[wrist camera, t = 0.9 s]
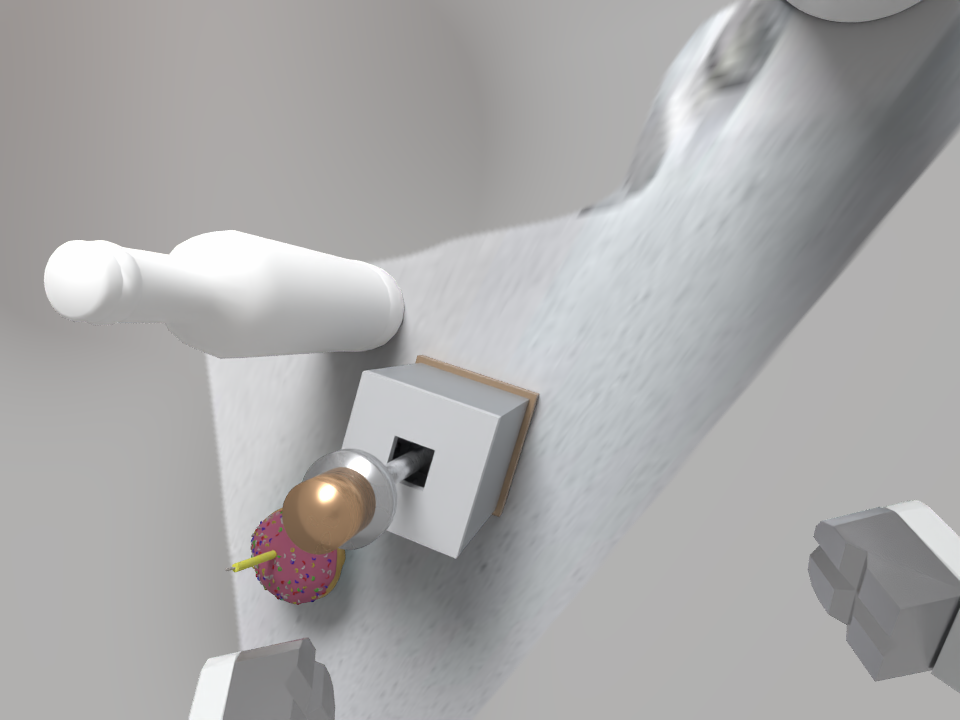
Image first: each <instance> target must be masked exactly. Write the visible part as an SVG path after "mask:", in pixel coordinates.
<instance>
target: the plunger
mask: <svg viewBox="0 0 960 720" xmlns="http://www.w3.org/2000/svg"><path fill="white" fill-rule="evenodd" d="M434 452H435V450H433V449H430V448H427V447H425V446H422V445H419V444H416V443H414V442H411V441H408V440H405V439H403V438H400V437H398V440H397V444H396V447H395V451H394V454H393V458H392V461H391V462H389V463H387V464H385V465H384V464H383V463H382V462H381V461H380V460H379V459H378V458H376V457H375V456H373V455H372V454H370V453H368V452H366V451H362V450H359V449H342V450H338V451H335V452H333V453H330V454H328V455H325V456H323V457H321V458H320V459H318V460H317V461H316V462H315V463H313V465H312V466H311V467H310V468H309V469H308V471H307V472H306V474H305V476H304V479H303V482H302V483H300V484H298V485H296V486H295V487H294V488H293V489H292V490H291V491H290V492H289V493H288V495H287V496H286V499H285V501H284V504H283V508H282V520H283V525H284V528H285V531H286V533H287V535H288V537H289V538H290V539H291V541H292V542H293V543H294V544H295V545H296V546H297V547H298V548H300V549H301V550H303V551H305V552H308V553H310V554H317V555H321V554H327V553H330V552H332V551H334V550H336V549H337V548H339V549H346V550H352V549H358V548H362V547H364V546H367V545H368V544H370V543H372V542H373V541H374V540H375V539H377V538H378V537H379V536H380V535H382V534H383V533H384V532H385V531H386V530H387V529H388V527H389V526H390V525H391V523H392V521H393V519H394V516H395V513H396V509H397V490H396V486H395V484H397V483H398V482H400V481H402V480H405V481H407V482H410V483H412V484H415V485H418V486H420V487H423V488H424V487H425V483H426V480H427V476H428V473H429V469H430V466H431V463H432V459H433V456H434Z"/></svg>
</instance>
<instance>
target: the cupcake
mask: <svg viewBox="0 0 960 720" xmlns="http://www.w3.org/2000/svg"><path fill="white" fill-rule="evenodd" d="M253 535H254V536H253ZM252 537H253V538H252V540H253V541H252V540H251V542H252V543H251V545H252V546H251V547H250V549H251V550H252V551H251V552H252V555H251V558H250V559H247V560H244V561H241V562H238V563H235V564H233V565H232V567H230V568H226V569H225V570H226V571H229V570H233V571H234V572H238V571H241V570H243V569H246V568H249V567H253V566H254V567H253V569H255V572H256V573H257V574H256V577H258V578H257V579H258V580H259V579H260V580H259V581H260V584H261V585H263V586H264V589H265V588H266V589H265V590H268V591H269V592H271V593H272V594H273V595H275V597H277V599H280V600H284V601H287V602H289V603H293V604H297V605H299V604H301V603H306V602H314V601H315V600H316V599H320V598H322V597H324V596H326V595H327V594H328V593H329V592H331V591H332V589H333V588H334V587H335V585H336V583H337V581H338V579H339V577H340V574H341V569H342V566H343V564H344V562H345V549H339V548H337V549H336V550H334V551H332V552H330V553H327V554H321V555H317V554H310V553H308V552H305V551H303V550H301V549H300V548H298V547H297V546H296V545H295V544H294V543H293V542H292V541H291V539H290V538H289V537H288V535H287V533H286V531H285V528H284V525H283V520H282V508H281V509H279V510H277V511H275V512H273V513H272V514H271V515H269V516H268V517H267V518H266V519H265V520H264V521H263V522H262V521H261V522H260V525H259V526H258V527H257V529H256V530H255V532H254V533H253V534H252Z"/></svg>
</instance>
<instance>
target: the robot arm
mask: <svg viewBox="0 0 960 720" xmlns="http://www.w3.org/2000/svg"><path fill="white" fill-rule="evenodd" d="M786 1H788V2H789V3H790V4H791V5H793V6H794V7H796V8H797V9H799V10H801V11H803V12H805V13H807V14H809V15H812V16H815V17H817V18H821V19H825V20H830V21H836V22H864V21H871V20H876V19H880V18H884V17H887V16H890V15H893V14H896V13H898V12H901V11H903V10H905V9H907V8H909V7H911V6H913V5H915V4H917V3H918V2H920V1H922V0H786ZM814 538H815V540H816V541H817V542H818V544H819V546H818V547H817V548H816V550H814V551H813V553H812V554H811V555H810V557H809V565H808V572H809V576H810V580H811V584H812V587H813V589H814V591H815V594H816V596H817V598H818V600H819V601H820V603H821V604H822V606H823V607H824V608H825V610H826V611H827V613H828V614H829V615H830V616H832V617H834V618H836V619H837V620H839V621H841V622H843V623H844V624H846V625H847V635H846V641H847V642H848V644H849V645H850V646H851V648H852V649H853V651H854V652H855V654H856V655H857V656H858V658H859V659H860V661H861V662H862V664H863V665H864V666H865V668H866V669H867V671H868V672H869V674H870V675H871V677H872V678H873V679H874V681H880V680H885V679H890V678H895V677H900V676H905V675H910V674H915V673H920V672H925V671H930V670H932V672H931V674H932V675H934V676H935V677H937V678H938V679H940V680H941V681H943V682H944V683H946V684H947V685H948V686H950V687H951V688H953V689H954V690H956V691H957V692H959V693H960V537H959V536H958V535H957V534H956V533H955V532H954V531H953V530H952V529H951V528H950V527H949V526H948V525H947V524H946V523H945V522H944V521H943V520H942V519H941V518H940V517H938V516H937V514H936V513H934V512H933V511H932V510H931V509H930V508H929V507H928V506H927V505H926V504H924V503H922V502H920V501H918V500H912V501H906V502H902V503H898V504H894V505H890V506H886V507H882V508H881V507H877V508H873V509H869V510H865V511H861V512H856V513H852V514H849V515H844V516H840V517H836V518H832V519H828V520H824V521H821V522H820V523H819V524H818V525H817V526H816V528H815V532H814ZM315 652H316V649H315V647H314V646H313V644H312V643H311V641H310V639H309V638H303V639H299V640H294V641H289V642H284V643H280V644H275V645H270V646H266V647H261V648H256V649H251V650H247V651H240V652H236V653H231V654H227V655H222V656H218V657H214V658H209V659H208V660H207V662H206V664H205V665H204V667H203V668H202V670H201V672H200V676H199V679H198V683H197V688H196V691H195V695H194V699H193V703H192V706H191V710H190V714H189V718H188V720H334V719H335V701H334V690H333V685H332V681H331V678H330V674H329V672H328V670H327V668H326V667H325V665H323V664H321V663H319V662H316V661H315Z"/></svg>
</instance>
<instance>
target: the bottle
mask: <svg viewBox="0 0 960 720" xmlns="http://www.w3.org/2000/svg"><path fill="white" fill-rule="evenodd" d="M44 286H45V291H46V295H47V297H48V299H49V301H50V303H51V305H52V306H53V309H54V310H55V311H56V312H58V314H60V315H61V316H62V317H63V318H65V319H68V320H71V321H73V322H87V323H89V324H91V325H113V324H115V323H117V322H118V323H165V324H166V326H167V328H168V330H169V331H170V332H171V333H172V334H173V335H174V336H175V337H177V338H178V339H179V340H180V341H181V342H182V343H184V344H186V345H188V346H190V347H192V348H194V349H197V350H199V351H202V352H204V353H207V354H210V355H212V356H215V357H217V358H220V359H223V358H247V357H262V356H278V355H293V354H309V353H324V352H340V351H344V352H357V351H367V350H371V349H375V348H377V347H380V346H382V345H384V344H386V343H387V342H388V341H389V340H390V339H391V338H392V337H393V336H394V335H395V334H396V333H397V331H398V329H399V327H400V325H401V322H402V320H403V312H404V301H403V296H402V292H401V289H400V288H399V286H398V284H397V283H396V281H395V279H394V278H393V277H392V276H391V275H389V274H388V273H387V272H386V271H385V270H383V269H381V268H378V267H377V266H374V265H371V264H368V263H365V262H362V261H358V260H349V259H345V258H341V257H337V256H333V255H329V254H325V253H321V252H318V251H314V250H310V249H306V248H302V247H298V246H294V245H290V244H286V243H282V242H278V241H274V240H270V239H266V238H262V237H258V236H254V235H251V234H246V233H243V232H239V231H235V230H229V231H218V232H211V233H206V234H202V235H199V236H196V237H192V238H191V239H188V240H187V241H185V242H183V243H181V244H179V245H177V246H176V247H175V249H173V251H172V252H171V253H170V254H169V255H167V254H161V253H155V252H149V251H142V250H136V249H131V248H125V247H121V246H119V245H117V244H114V243H111V242H108V241H103V240H97V241H82V240H76V241H68V242H67V243H65V244H63V245H61V246H60V247H58V248H57V249H56V251H55V252H54V253H53V254H52V256H51V257H50V259H49V261H48V263H47V266H46V269H45V274H44Z"/></svg>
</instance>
